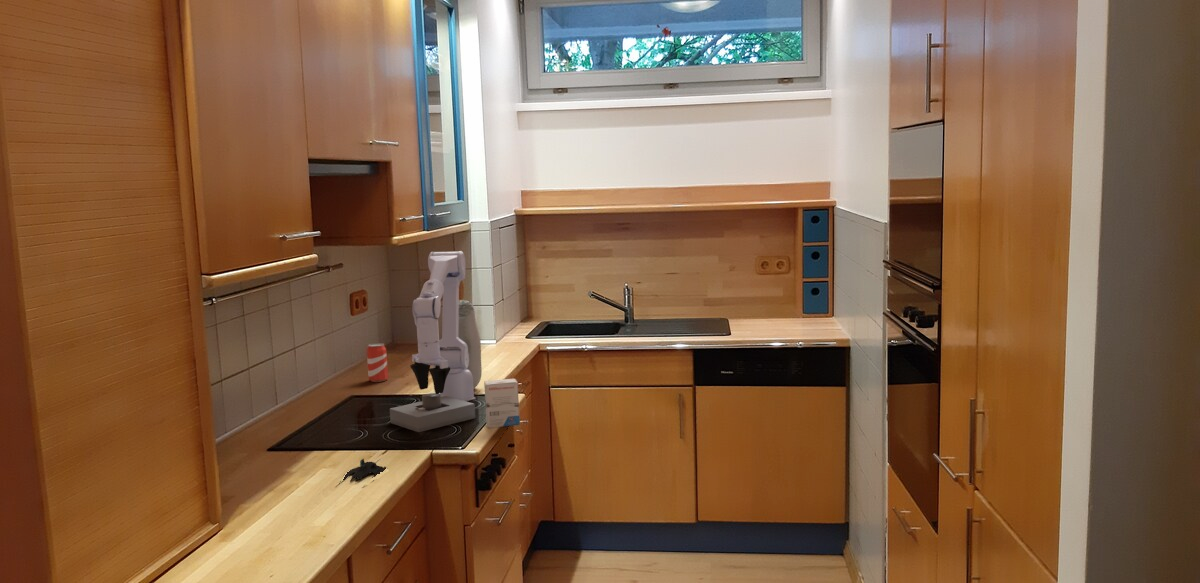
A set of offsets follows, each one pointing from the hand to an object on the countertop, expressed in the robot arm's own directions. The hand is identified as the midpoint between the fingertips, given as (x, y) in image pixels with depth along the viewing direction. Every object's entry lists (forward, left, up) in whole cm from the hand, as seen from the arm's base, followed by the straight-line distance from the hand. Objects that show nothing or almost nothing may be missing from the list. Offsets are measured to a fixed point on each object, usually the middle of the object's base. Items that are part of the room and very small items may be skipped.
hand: (431, 391), depth 248 cm
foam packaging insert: (0, 0, -8) cm, 8 cm away
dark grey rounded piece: (0, 0, -7) cm, 7 cm away
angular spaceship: (+37, +28, -9) cm, 47 cm away
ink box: (-10, +18, -8) cm, 22 cm away
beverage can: (-16, -57, -8) cm, 60 cm away
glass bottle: (-27, -23, -8) cm, 36 cm away
